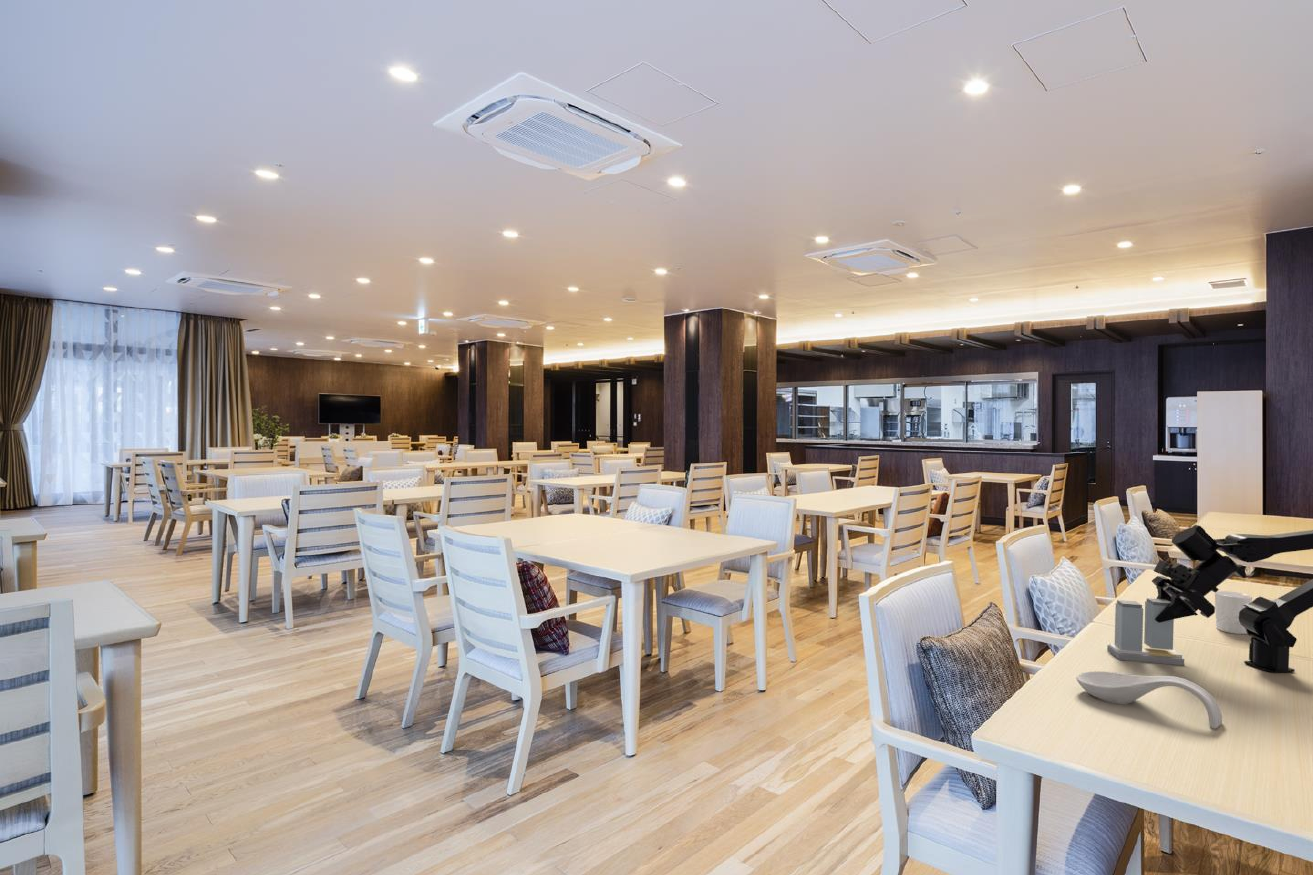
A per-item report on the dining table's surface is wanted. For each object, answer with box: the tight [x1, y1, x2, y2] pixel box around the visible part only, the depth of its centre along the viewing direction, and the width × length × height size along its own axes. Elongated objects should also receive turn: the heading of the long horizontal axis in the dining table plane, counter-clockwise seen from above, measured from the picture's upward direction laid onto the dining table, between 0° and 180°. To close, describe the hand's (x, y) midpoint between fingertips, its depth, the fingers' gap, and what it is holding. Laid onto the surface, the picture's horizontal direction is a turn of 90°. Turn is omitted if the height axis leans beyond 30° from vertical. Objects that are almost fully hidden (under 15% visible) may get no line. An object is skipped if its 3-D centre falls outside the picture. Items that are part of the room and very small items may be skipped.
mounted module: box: [1114, 599, 1144, 651], centre depth 168 cm, size 4×4×11 cm
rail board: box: [1106, 643, 1185, 666], centre depth 167 cm, size 14×7×2 cm, turn 76°
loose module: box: [1143, 597, 1175, 650], centre depth 167 cm, size 4×4×11 cm
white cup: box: [1214, 590, 1253, 635], centre depth 192 cm, size 8×8×10 cm
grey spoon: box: [1075, 670, 1223, 730], centre depth 138 cm, size 24×12×7 cm, turn 40°
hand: (1152, 618), depth 167 cm, fingers closed on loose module, 4 cm apart
